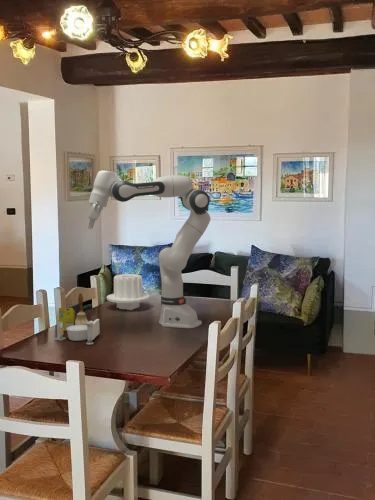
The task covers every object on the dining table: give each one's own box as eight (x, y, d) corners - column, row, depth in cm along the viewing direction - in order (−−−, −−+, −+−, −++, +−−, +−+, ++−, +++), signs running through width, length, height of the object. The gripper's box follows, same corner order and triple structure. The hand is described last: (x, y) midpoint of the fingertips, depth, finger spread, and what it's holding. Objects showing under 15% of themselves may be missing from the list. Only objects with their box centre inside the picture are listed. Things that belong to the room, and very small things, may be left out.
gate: (92, 342, 246) (91, 323, 245) (85, 342, 246) (84, 323, 245) (101, 333, 262) (101, 315, 260) (94, 333, 262) (94, 315, 261)
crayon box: (75, 329, 272) (74, 306, 271) (73, 331, 269) (73, 308, 268) (60, 329, 273) (60, 306, 271) (59, 330, 270) (58, 307, 268)
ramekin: (62, 338, 257) (61, 327, 256) (82, 333, 265) (81, 323, 264) (75, 343, 249) (75, 332, 248) (95, 338, 257) (95, 327, 256)
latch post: (68, 338, 256) (68, 322, 255) (62, 341, 252) (62, 324, 251) (59, 337, 258) (59, 320, 257) (53, 339, 254) (53, 322, 253)
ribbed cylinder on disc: (122, 301, 337) (121, 271, 335) (157, 305, 327) (157, 274, 324) (98, 309, 315) (97, 277, 313) (135, 314, 304) (135, 280, 302)
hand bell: (86, 325, 280) (85, 295, 278) (70, 325, 281) (70, 294, 279) (92, 321, 288) (91, 292, 286) (77, 321, 289) (76, 291, 287)
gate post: (95, 343, 249) (94, 324, 248) (90, 345, 246) (90, 326, 245) (89, 342, 250) (88, 324, 249) (84, 344, 247) (84, 325, 246)
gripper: (103, 202, 257) (95, 231, 258) (104, 203, 277) (97, 229, 278) (90, 199, 256) (82, 227, 257) (92, 199, 277) (85, 226, 277)
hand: (90, 228), depth 267 cm, fingers open, 8 cm apart
